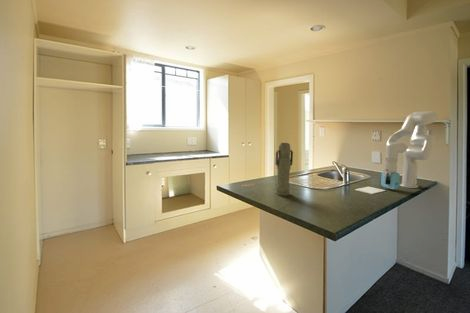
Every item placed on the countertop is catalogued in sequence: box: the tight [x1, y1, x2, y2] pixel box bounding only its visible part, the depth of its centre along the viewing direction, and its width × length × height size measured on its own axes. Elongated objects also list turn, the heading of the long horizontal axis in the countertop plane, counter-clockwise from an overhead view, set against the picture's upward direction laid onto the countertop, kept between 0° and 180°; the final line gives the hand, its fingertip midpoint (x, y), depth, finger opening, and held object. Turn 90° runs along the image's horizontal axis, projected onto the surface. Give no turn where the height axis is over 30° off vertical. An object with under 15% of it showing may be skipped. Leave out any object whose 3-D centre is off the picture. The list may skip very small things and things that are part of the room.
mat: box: [354, 186, 386, 195], centre depth 198 cm, size 18×13×1 cm
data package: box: [380, 170, 400, 190], centre depth 201 cm, size 12×4×12 cm, turn 17°
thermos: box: [275, 142, 294, 197], centre depth 182 cm, size 9×12×35 cm
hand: (389, 183), depth 201 cm, fingers closed on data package, 5 cm apart
